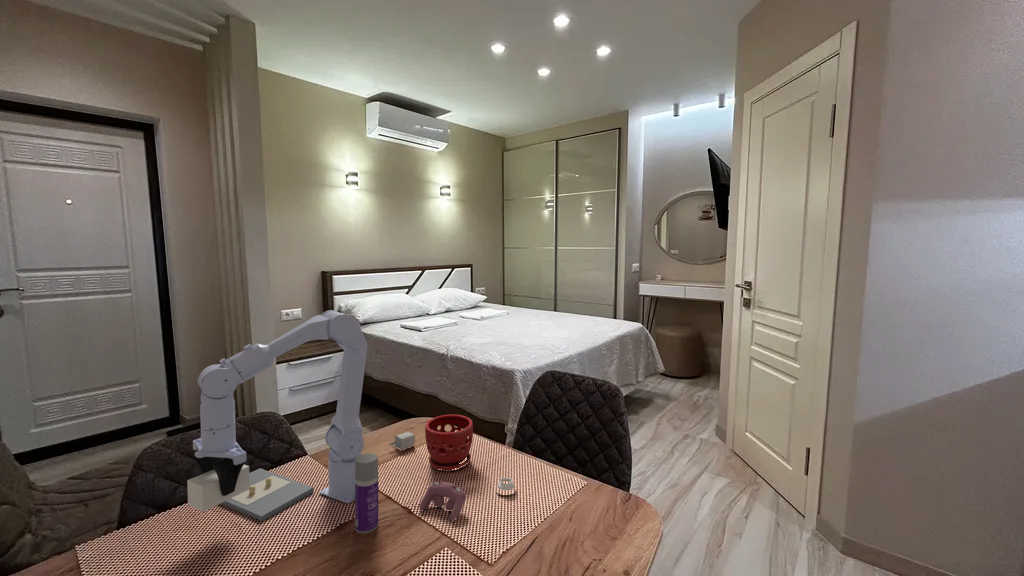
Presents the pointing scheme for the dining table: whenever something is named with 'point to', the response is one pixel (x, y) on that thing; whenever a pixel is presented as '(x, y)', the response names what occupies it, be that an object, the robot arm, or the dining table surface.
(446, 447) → the plant pot
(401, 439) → the usb wall charger
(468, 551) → the dining table surface
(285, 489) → the stub plate
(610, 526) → the dining table surface
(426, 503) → the video game controller
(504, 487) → the grey rounded piece
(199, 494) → the block
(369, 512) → the container
